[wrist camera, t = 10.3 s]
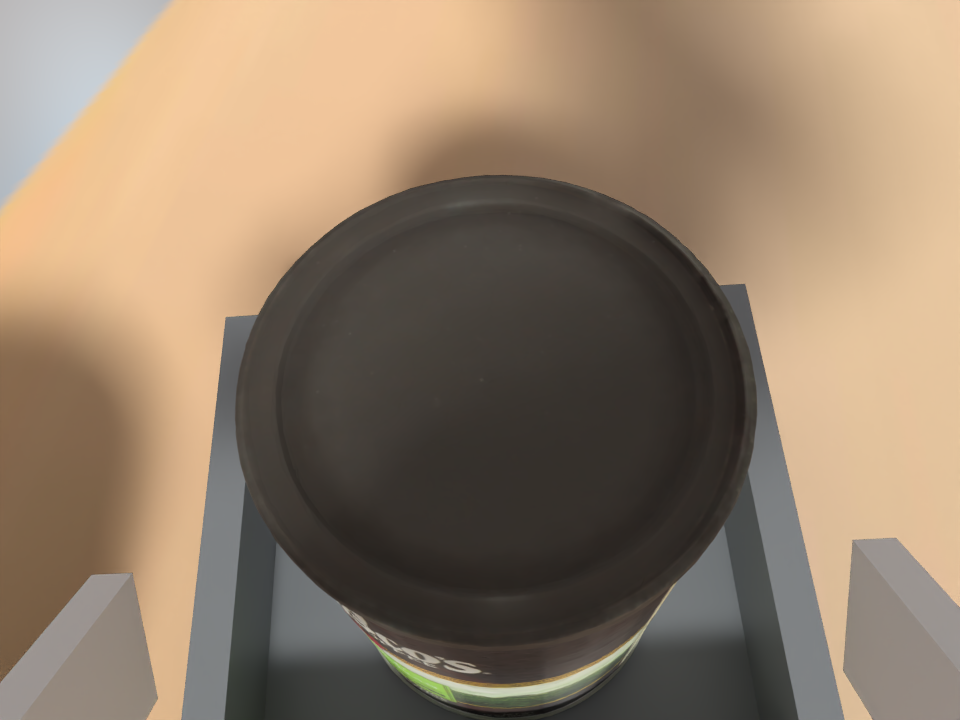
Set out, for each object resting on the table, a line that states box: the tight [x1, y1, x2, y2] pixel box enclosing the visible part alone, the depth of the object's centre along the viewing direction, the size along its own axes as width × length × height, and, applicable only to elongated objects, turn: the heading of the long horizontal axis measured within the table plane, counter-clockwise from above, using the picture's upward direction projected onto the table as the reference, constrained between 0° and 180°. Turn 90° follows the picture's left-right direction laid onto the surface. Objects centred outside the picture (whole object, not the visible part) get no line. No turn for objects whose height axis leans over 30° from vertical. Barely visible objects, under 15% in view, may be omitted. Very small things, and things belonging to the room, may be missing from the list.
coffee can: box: [235, 175, 757, 720], centre depth 23 cm, size 10×10×14 cm
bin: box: [181, 284, 844, 720], centre depth 29 cm, size 18×16×7 cm
